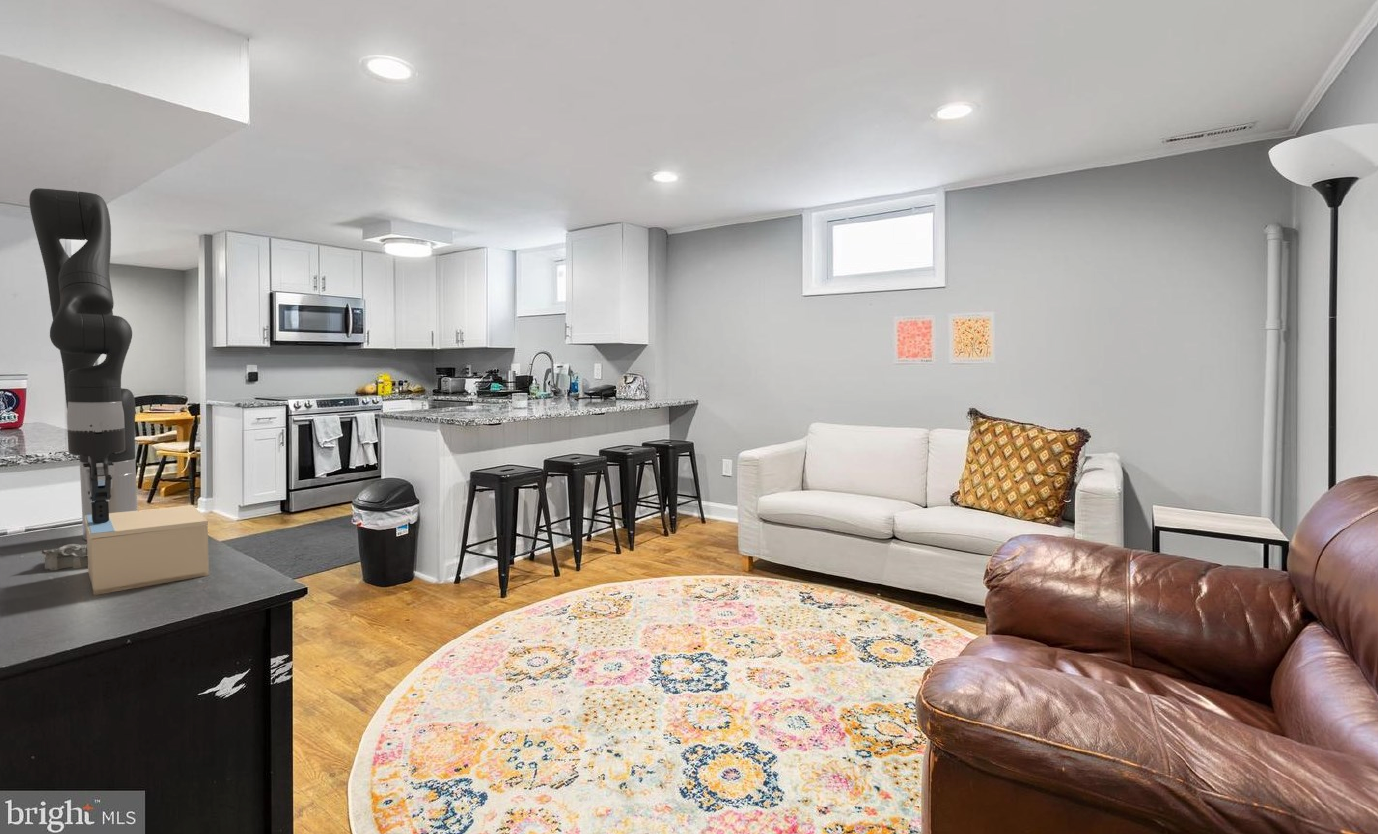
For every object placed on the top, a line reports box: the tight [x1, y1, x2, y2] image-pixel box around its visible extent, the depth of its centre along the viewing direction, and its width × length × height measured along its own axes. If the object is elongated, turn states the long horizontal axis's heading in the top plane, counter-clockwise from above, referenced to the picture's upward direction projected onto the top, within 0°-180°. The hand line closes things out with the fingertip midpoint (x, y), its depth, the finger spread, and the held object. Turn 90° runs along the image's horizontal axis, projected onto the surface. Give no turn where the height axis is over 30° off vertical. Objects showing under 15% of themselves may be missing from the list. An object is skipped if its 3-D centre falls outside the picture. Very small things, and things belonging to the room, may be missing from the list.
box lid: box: [84, 504, 209, 539], centre depth 120 cm, size 16×16×1 cm
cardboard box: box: [86, 525, 210, 596], centre depth 121 cm, size 16×16×10 cm
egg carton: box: [41, 543, 88, 571], centre depth 126 cm, size 11×8×4 cm
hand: (100, 521), depth 115 cm, fingers closed
